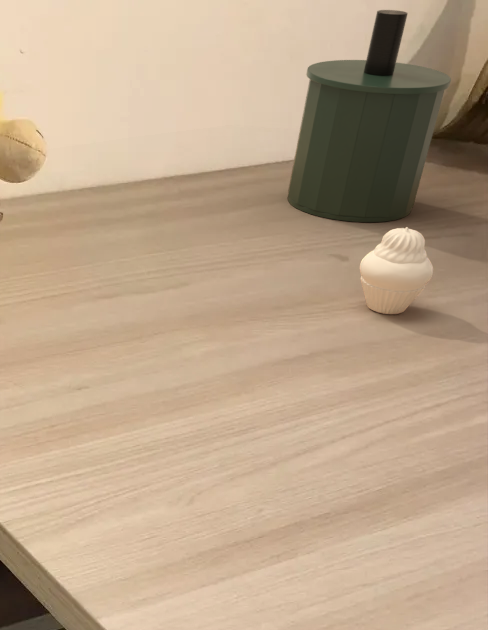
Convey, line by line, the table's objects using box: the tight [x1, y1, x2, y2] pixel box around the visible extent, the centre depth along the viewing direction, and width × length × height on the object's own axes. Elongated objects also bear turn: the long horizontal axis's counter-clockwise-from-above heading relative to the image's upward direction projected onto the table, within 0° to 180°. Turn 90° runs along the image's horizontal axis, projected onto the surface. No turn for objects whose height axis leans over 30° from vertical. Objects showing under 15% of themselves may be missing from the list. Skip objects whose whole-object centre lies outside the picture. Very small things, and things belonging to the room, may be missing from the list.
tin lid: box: [305, 9, 452, 94], centre depth 107 cm, size 15×15×7 cm
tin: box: [286, 79, 445, 223], centre depth 113 cm, size 14×14×12 cm
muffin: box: [359, 226, 434, 315], centre depth 90 cm, size 6×6×7 cm
